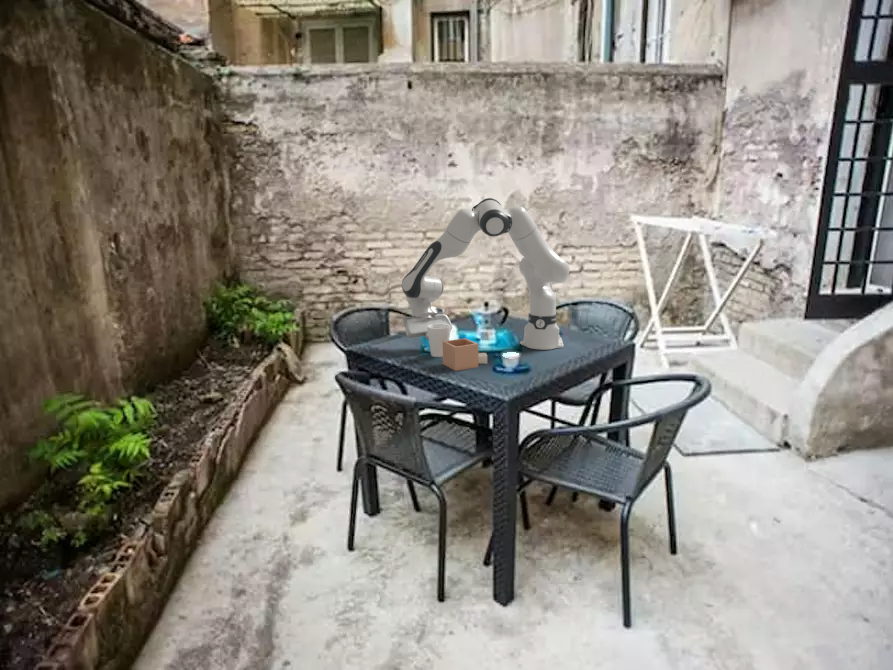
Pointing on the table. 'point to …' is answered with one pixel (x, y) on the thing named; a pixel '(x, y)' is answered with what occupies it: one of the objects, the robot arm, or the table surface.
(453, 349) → the planter
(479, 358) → the limestone block
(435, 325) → the foam cup
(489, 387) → the table surface
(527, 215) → the robot arm
